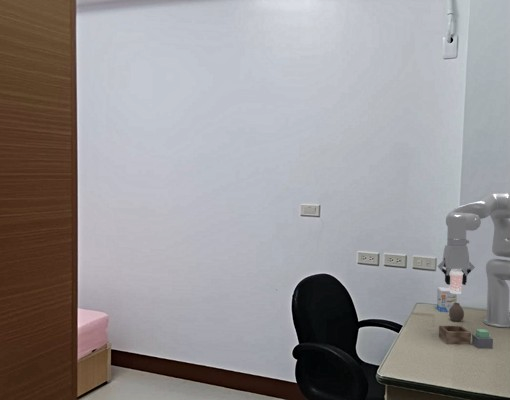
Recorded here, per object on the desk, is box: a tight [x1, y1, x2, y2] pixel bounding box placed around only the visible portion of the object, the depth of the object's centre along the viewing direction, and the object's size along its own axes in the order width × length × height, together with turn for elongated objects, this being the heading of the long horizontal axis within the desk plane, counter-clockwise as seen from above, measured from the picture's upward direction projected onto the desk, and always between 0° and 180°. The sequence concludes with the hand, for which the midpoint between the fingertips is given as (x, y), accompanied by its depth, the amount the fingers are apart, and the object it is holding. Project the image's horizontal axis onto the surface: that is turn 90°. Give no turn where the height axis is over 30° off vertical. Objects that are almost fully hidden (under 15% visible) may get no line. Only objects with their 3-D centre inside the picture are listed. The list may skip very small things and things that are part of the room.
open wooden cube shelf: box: [438, 325, 472, 345], centre depth 216 cm, size 10×10×5 cm
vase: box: [448, 302, 465, 323], centre depth 247 cm, size 7×7×9 cm
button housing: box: [471, 333, 494, 349], centre depth 209 cm, size 6×6×4 cm
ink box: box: [436, 286, 458, 313], centre depth 268 cm, size 9×8×12 cm
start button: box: [475, 328, 490, 338], centre depth 209 cm, size 4×4×5 cm
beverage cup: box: [449, 269, 464, 295], centre depth 215 cm, size 6×6×14 cm
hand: (455, 283), depth 215 cm, fingers closed on beverage cup, 6 cm apart
